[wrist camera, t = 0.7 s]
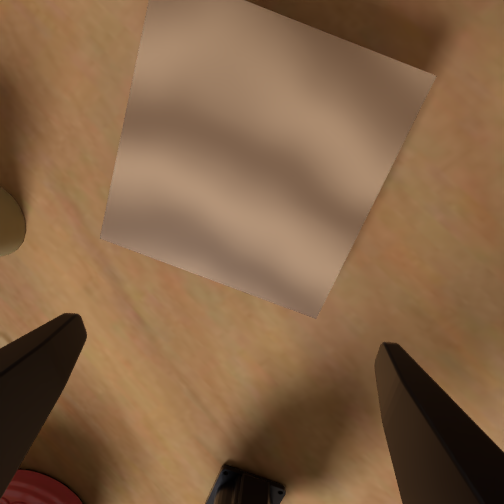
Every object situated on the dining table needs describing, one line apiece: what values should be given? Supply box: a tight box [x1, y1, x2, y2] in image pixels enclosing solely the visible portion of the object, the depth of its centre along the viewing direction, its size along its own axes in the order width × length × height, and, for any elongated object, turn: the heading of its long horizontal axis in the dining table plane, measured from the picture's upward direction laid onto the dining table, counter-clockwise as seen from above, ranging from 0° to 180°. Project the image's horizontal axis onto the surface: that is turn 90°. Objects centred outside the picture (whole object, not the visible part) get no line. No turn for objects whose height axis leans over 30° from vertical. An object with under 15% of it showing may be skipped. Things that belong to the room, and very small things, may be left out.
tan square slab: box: [100, 0, 437, 319], centre depth 20 cm, size 15×15×4 cm
